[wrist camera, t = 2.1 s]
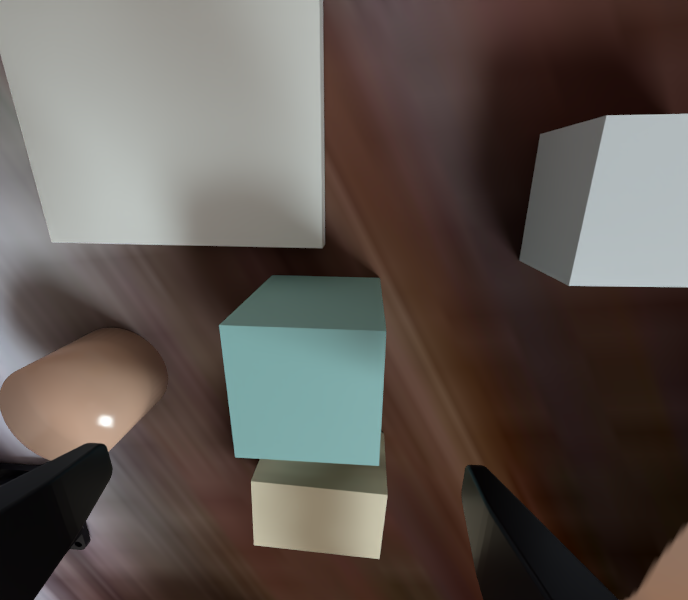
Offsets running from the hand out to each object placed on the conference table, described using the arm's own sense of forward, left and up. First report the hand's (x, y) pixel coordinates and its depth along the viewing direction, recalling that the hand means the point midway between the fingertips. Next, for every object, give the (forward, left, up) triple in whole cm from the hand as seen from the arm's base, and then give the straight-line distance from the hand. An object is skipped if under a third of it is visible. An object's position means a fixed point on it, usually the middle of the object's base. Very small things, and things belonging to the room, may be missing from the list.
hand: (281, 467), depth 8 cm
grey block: (+11, +6, -9) cm, 15 cm away
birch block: (0, -8, -9) cm, 12 cm away
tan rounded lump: (-11, -3, -9) cm, 14 cm away
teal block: (0, 0, -9) cm, 9 cm away
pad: (-6, +10, -9) cm, 14 cm away
